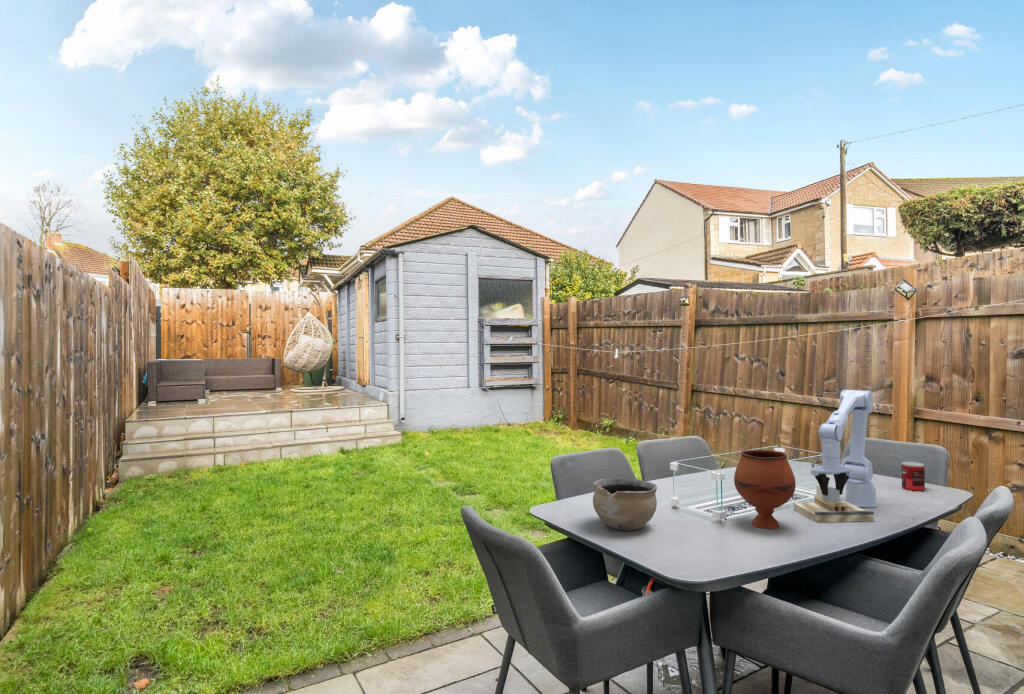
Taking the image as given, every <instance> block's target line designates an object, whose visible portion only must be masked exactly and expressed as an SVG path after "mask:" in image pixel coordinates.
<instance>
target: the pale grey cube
mask: <svg viewBox="0 0 1024 694" xmlns="http://www.w3.org/2000/svg"><path fill="white" fill-rule="evenodd" d="M822 495H823V494H822ZM840 497H841V495H840V490H838V489H836V487H833V488H828V495H827V496H825V495H823V499H824V500H826V501H828V502H833V501H840V500H841V498H840Z"/></svg>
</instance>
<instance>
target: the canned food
mask: <svg viewBox="0 0 1024 694" xmlns="http://www.w3.org/2000/svg"><path fill="white" fill-rule="evenodd" d="M925 471H926V469H925V464H924V463H922V462H916V461H902V462H901V487H902V489H903V490H905V489H906V491H909V490H912V491H911V492H916V491H922V492H924V491H925V488H926V487H925V485H926V484H925V483H926V481H925V479H926V478H925V477H926V476H925Z"/></svg>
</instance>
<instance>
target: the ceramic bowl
mask: <svg viewBox="0 0 1024 694" xmlns="http://www.w3.org/2000/svg"><path fill="white" fill-rule="evenodd" d="M592 485H593V488H594V493H593V495H592V505H593V509H594V511H595V513H596V514H597V516H598V518H599V519H600V521H601V522H602V523H604V524H605V525H606V526H608V527H609V528H612V529H613V530H618V531H634V530H635V531H636V530H639V529H641V528H642V527H644V526H646V525H647V524H648V523H649V522H650V520H652V519H653V517H654V514H655V512H656V511H657V506H658V505H657V504H658V501H657V496H656V492H657V489H658V485H657V484H656V483H653V482H650V481H645V480H643V479H642V480H641V479H639V478H638V479H637V478H626V477H625V478H624V477H611V478H610V477H609V478H601V479H597V480H595V481H593V484H592Z"/></svg>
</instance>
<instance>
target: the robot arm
mask: <svg viewBox="0 0 1024 694" xmlns="http://www.w3.org/2000/svg"><path fill="white" fill-rule="evenodd" d="M839 399H840V404H839V407H838V408H837V410H834V411H833V412H832V413H831V415H829V417H828V419H827V421H826V422H824V423H822V424H820V426H819V428H818V436H819V440H820V444H821V451H822V453H821V454H822V455H821V461H822V464H821V465H822V467H819V468H815V469H813V468H812V469H811V471H810V473H811V476H814V478H815V479H816V481H817V483H818V485H819V486H820V489H821V492H822V494H823V495H825V496H827V495H828V485H829V483H830V480H831V478H830V477H828V475H831V476H832V475H833V478H834V481H835V482H834V483H835V488H836V489H838V490H840V496H842V495H843V492H844V489H845V500H844V499H842V501H844V502H848V503H850V504H852V505H854V506H857V507H859V508H875V507H876V508H877V507H878V505H877V499H876V498H877V490H876V487H875V484H874V483H873V482H872V479H874V477H873V476H874V471H873V463H872V462H871V461H870V460H869V459H868V458H867V457H866V456H865V454H866V453H865V452H866V439H867V425H868V417H869V416H868V415H869V414H871V413H873V409H874V395H873V393H872V392H871V390H856V389H855V390H854V389H843V390H841V392H840V395H839ZM850 413H851V415H852V418H851V419H852V420H851V421H852V422H851V432H850V434H851V435H850V446H849V455H847V456H845V457H844V458H842V460H841V440H842V439H843V436H844V432H845V427H846V425H847V424H848V422H849V417H848V416H849V414H850Z"/></svg>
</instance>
